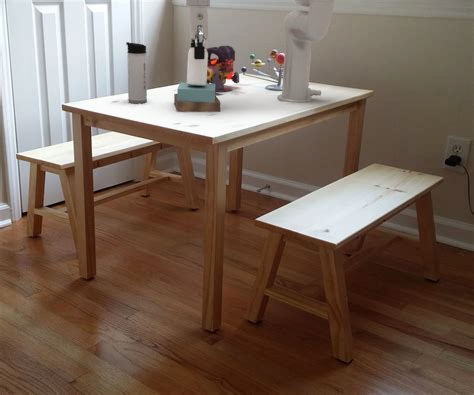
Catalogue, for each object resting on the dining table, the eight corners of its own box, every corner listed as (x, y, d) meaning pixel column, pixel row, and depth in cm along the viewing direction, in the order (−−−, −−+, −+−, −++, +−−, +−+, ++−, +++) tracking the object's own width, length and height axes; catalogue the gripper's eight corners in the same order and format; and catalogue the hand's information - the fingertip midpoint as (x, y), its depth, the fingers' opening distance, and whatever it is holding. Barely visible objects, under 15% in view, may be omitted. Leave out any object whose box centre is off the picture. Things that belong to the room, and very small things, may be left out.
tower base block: (214, 105, 219) (214, 93, 218) (220, 114, 206) (220, 102, 205) (174, 105, 217) (174, 93, 215) (177, 114, 204) (177, 102, 203)
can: (202, 86, 204) (204, 47, 201) (183, 84, 205) (185, 46, 203) (208, 85, 210) (210, 48, 207) (190, 84, 211) (192, 47, 209)
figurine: (218, 97, 230) (220, 50, 224) (188, 91, 237) (188, 46, 231) (246, 89, 246) (248, 46, 240) (217, 84, 253) (218, 42, 247)
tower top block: (215, 95, 215) (215, 83, 214) (214, 102, 204) (214, 90, 203) (179, 94, 215) (179, 82, 214) (177, 101, 204) (177, 88, 202)
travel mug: (125, 100, 218) (124, 41, 211) (144, 99, 220) (143, 41, 213) (129, 104, 213) (128, 43, 206) (148, 103, 215) (148, 43, 208)
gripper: (213, 4, 192) (212, 61, 198) (206, 0, 208) (205, 53, 214) (189, 3, 190) (188, 61, 196) (183, 0, 206) (183, 53, 212)
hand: (197, 56), depth 205 cm, fingers open, 9 cm apart
